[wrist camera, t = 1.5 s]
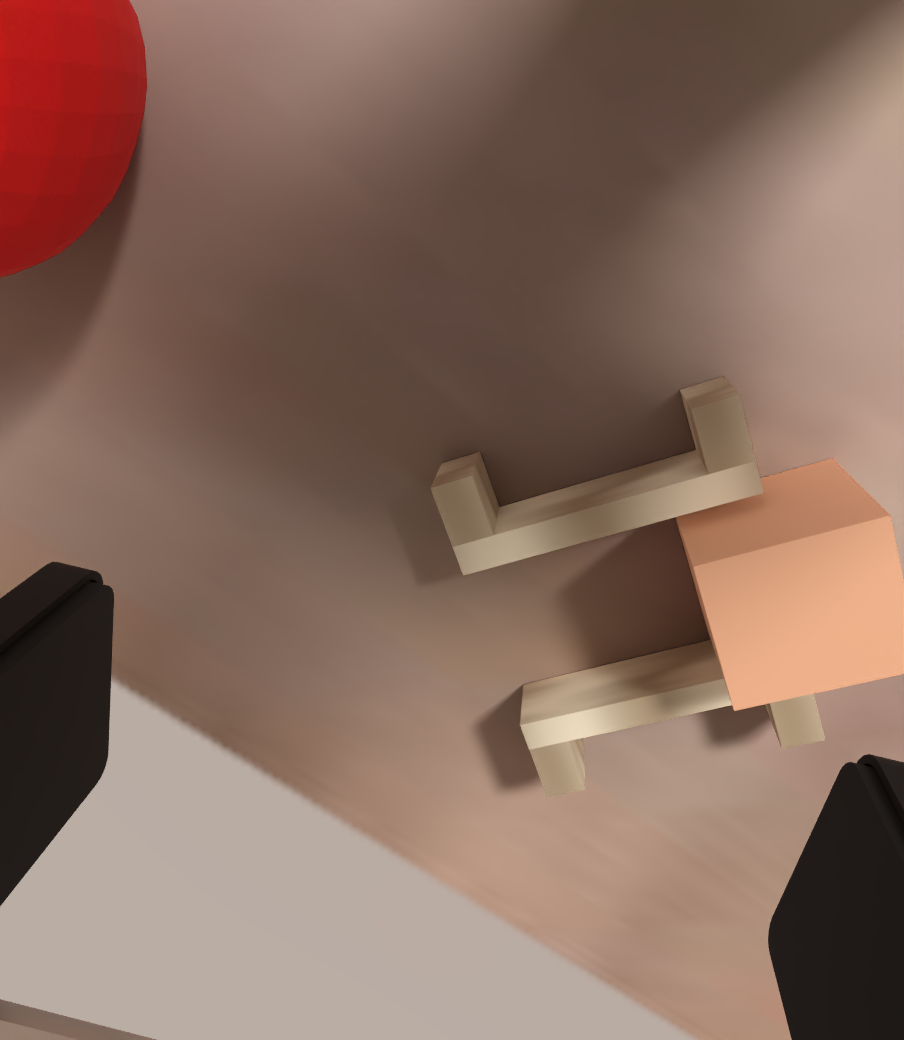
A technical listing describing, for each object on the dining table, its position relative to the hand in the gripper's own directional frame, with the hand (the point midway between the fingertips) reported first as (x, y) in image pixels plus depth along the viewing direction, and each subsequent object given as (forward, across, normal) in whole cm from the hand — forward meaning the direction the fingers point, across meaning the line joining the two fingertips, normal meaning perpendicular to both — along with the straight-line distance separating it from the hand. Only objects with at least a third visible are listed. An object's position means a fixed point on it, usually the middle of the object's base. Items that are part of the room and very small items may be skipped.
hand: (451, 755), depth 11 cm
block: (+23, -10, +5) cm, 25 cm away
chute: (+23, -6, +7) cm, 25 cm away
